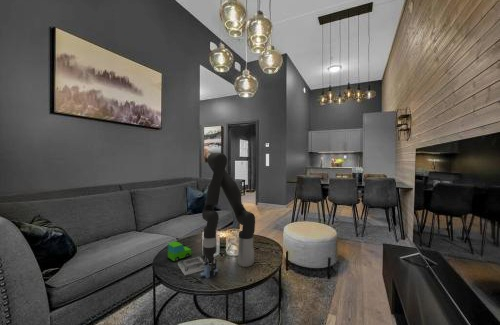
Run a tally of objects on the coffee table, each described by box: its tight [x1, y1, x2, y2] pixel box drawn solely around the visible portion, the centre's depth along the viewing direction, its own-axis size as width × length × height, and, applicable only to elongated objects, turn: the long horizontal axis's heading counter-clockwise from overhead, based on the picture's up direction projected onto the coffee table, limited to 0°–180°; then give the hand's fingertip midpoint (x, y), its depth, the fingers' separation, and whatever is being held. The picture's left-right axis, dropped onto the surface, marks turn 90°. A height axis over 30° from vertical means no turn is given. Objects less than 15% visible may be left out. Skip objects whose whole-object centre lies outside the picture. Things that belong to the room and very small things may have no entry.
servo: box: [200, 265, 219, 279], centre depth 122 cm, size 10×4×6 cm, turn 124°
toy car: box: [167, 241, 192, 263], centre depth 143 cm, size 10×13×10 cm
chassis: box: [177, 255, 205, 276], centre depth 131 cm, size 14×14×3 cm
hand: (209, 273), depth 122 cm, fingers open, 6 cm apart
